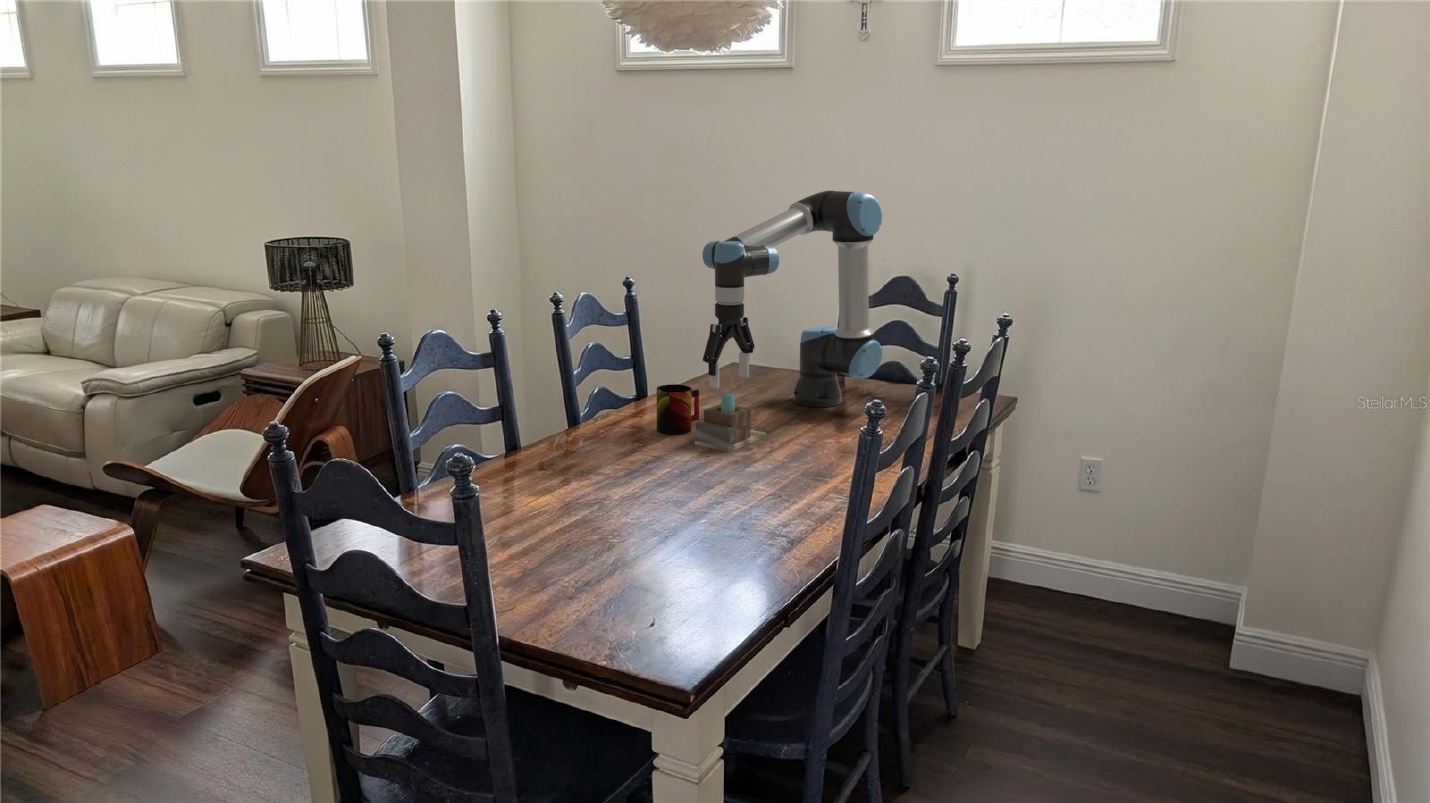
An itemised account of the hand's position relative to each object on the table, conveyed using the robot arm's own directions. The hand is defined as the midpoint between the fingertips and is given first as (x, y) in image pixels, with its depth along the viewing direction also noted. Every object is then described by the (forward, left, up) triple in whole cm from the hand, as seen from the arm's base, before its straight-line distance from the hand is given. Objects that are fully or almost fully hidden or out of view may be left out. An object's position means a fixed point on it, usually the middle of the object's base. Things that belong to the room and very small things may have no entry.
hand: (729, 382), depth 264 cm
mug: (-1, -19, -17) cm, 25 cm away
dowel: (0, 0, -16) cm, 16 cm away
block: (0, 0, -15) cm, 15 cm away
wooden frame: (-2, 0, -17) cm, 17 cm away
